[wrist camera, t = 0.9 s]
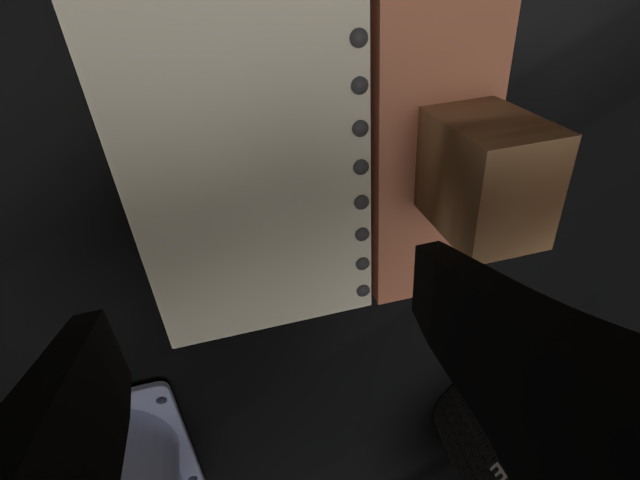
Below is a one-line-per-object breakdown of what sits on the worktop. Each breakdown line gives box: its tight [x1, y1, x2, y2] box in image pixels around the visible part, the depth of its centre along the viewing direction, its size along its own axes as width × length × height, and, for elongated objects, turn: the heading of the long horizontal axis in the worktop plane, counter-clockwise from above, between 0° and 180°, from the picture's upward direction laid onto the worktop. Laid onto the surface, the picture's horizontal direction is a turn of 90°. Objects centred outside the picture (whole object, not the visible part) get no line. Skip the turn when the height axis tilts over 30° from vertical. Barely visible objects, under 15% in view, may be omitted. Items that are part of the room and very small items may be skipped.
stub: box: [370, 0, 582, 305], centre depth 16 cm, size 14×5×6 cm, turn 4°
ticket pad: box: [52, 0, 371, 349], centre depth 17 cm, size 14×9×2 cm, turn 4°
